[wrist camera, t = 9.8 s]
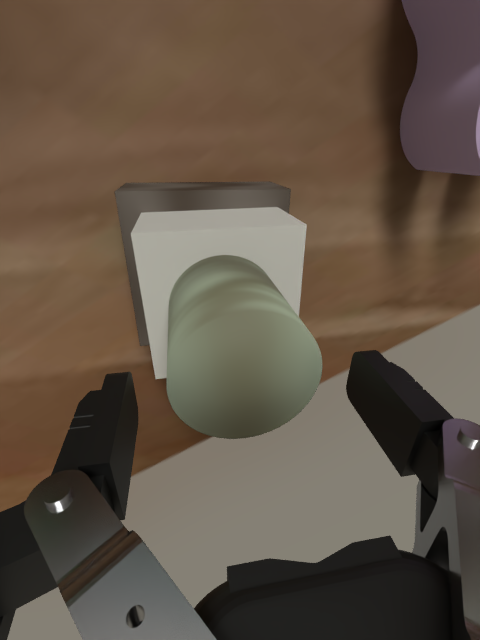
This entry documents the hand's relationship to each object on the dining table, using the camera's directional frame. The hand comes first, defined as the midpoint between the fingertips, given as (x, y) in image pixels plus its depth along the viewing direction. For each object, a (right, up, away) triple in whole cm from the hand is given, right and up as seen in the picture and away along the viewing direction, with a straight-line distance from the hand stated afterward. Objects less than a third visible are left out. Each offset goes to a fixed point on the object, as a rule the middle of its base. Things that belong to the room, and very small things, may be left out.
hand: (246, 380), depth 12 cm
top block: (-2, +5, +9) cm, 11 cm away
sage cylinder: (-1, +3, +5) cm, 6 cm away
